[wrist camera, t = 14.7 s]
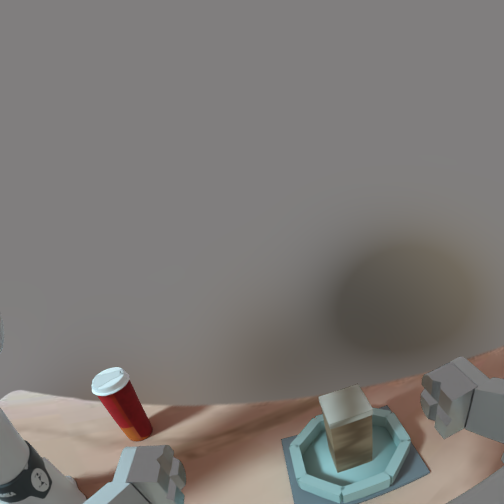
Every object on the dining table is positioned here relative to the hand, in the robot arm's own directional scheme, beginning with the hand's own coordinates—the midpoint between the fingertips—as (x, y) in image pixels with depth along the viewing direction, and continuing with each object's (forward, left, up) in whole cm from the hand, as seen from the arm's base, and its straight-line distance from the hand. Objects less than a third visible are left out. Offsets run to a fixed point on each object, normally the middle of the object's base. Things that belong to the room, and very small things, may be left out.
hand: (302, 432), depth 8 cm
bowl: (+6, +20, -32) cm, 38 cm away
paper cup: (-30, +36, -32) cm, 57 cm away
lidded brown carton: (+6, +20, -31) cm, 37 cm away
